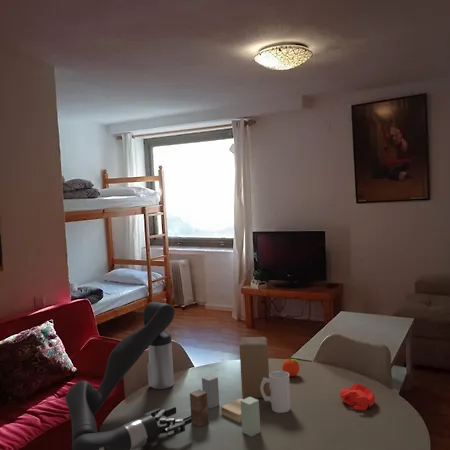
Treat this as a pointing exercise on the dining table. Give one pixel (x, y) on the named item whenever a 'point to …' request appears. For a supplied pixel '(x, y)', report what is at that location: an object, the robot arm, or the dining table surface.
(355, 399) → the animal figurine
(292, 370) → the clementine
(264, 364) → the wooden block
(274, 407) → the mug
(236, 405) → the oak slab
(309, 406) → the dining table surface
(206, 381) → the grey post
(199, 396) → the walnut post
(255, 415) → the sage post
